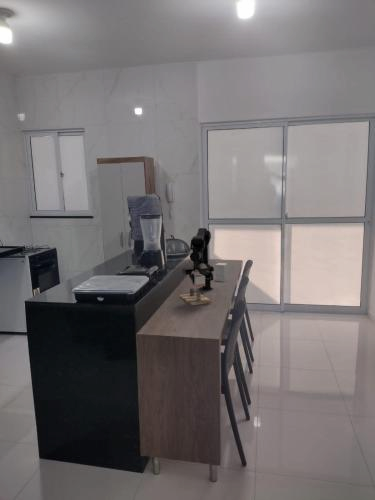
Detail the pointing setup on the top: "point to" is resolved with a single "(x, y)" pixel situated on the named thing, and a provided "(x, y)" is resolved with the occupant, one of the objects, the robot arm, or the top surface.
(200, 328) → the top surface
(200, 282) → the sleeve
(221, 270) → the supplement box
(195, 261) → the robot arm
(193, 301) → the pin board
